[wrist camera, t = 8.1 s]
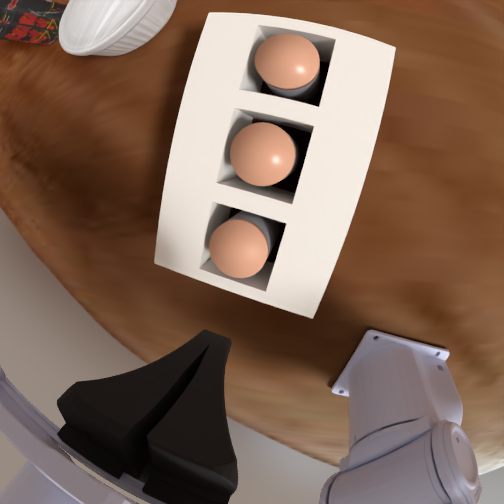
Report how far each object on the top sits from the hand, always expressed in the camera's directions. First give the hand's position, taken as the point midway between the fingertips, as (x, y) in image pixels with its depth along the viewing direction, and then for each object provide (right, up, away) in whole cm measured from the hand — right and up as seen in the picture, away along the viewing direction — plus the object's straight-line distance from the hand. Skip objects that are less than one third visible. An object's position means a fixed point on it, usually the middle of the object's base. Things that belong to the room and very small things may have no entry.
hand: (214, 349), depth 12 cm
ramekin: (-9, +26, +4) cm, 28 cm away
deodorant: (-23, +33, +5) cm, 40 cm away
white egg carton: (+3, +11, +6) cm, 13 cm away
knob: (+5, +16, +4) cm, 17 cm away
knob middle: (+3, +11, +6) cm, 13 cm away
